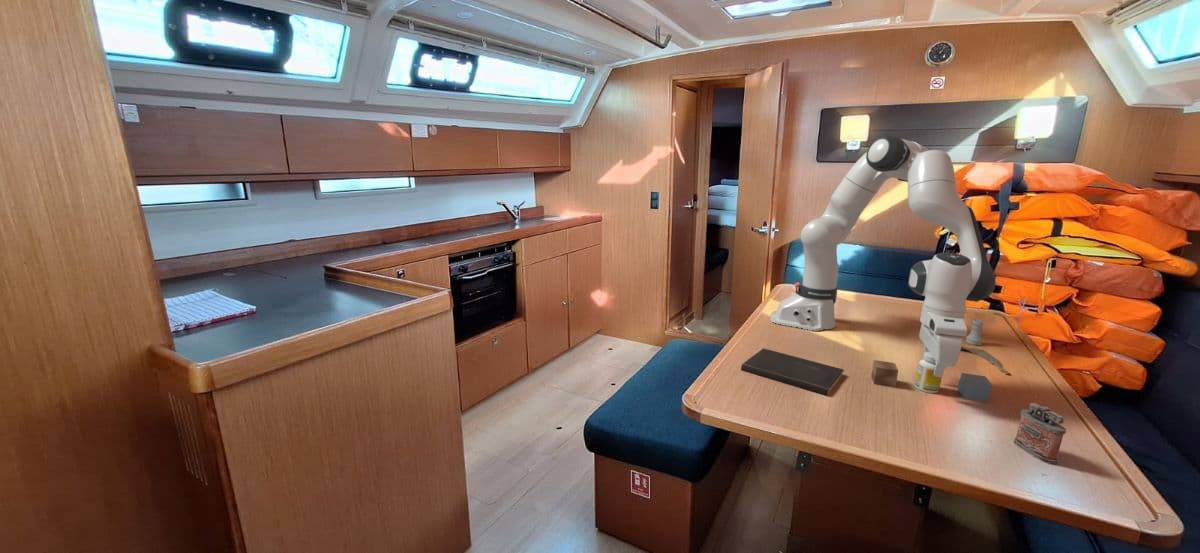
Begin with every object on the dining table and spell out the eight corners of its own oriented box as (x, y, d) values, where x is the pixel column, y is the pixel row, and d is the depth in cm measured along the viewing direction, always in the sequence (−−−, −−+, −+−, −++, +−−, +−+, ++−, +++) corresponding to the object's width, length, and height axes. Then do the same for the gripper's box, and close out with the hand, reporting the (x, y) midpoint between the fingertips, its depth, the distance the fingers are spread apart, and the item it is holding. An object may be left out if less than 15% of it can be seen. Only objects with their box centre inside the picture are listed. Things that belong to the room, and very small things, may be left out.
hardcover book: (762, 355, 146) (763, 348, 145) (843, 377, 132) (844, 369, 131) (740, 372, 134) (741, 364, 133) (826, 398, 120) (827, 390, 119)
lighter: (1008, 441, 101) (1019, 398, 99) (1023, 440, 101) (1034, 398, 99) (1046, 464, 93) (1058, 419, 91) (1062, 464, 93) (1074, 418, 91)
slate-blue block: (963, 399, 119) (967, 380, 118) (957, 390, 123) (961, 372, 122) (988, 403, 117) (992, 384, 116) (981, 394, 122) (985, 376, 120)
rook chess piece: (975, 341, 157) (980, 318, 155) (985, 346, 153) (990, 322, 151) (961, 340, 158) (966, 317, 156) (970, 345, 153) (975, 322, 151)
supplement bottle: (909, 386, 125) (916, 352, 123) (922, 382, 127) (928, 349, 125) (931, 395, 120) (938, 360, 118) (943, 391, 123) (950, 357, 120)
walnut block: (873, 384, 126) (876, 367, 125) (871, 376, 131) (873, 360, 130) (895, 387, 124) (898, 370, 123) (891, 379, 129) (894, 363, 128)
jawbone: (971, 349, 153) (973, 343, 152) (1035, 378, 133) (1037, 372, 133) (947, 348, 152) (948, 342, 151) (1008, 377, 132) (1010, 371, 131)
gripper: (917, 305, 130) (909, 352, 133) (937, 328, 111) (927, 382, 115) (945, 307, 127) (936, 355, 131) (970, 332, 109) (959, 387, 112)
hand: (932, 368), depth 122 cm, fingers open, 8 cm apart
